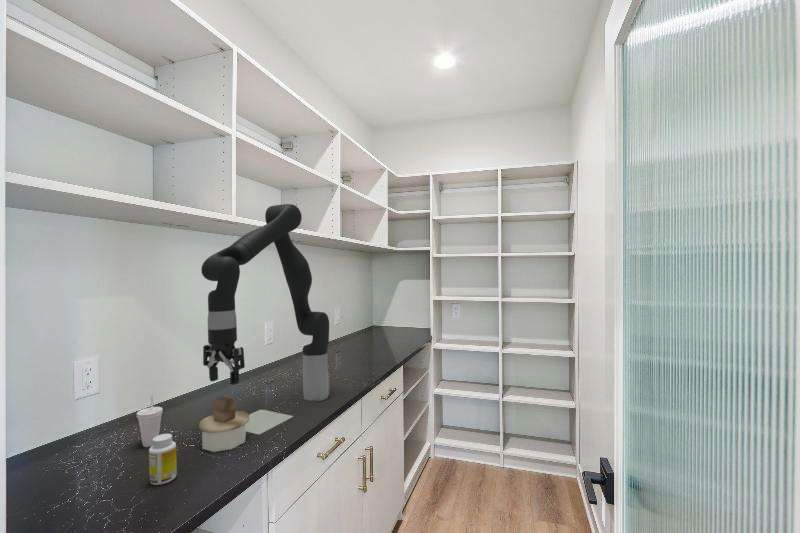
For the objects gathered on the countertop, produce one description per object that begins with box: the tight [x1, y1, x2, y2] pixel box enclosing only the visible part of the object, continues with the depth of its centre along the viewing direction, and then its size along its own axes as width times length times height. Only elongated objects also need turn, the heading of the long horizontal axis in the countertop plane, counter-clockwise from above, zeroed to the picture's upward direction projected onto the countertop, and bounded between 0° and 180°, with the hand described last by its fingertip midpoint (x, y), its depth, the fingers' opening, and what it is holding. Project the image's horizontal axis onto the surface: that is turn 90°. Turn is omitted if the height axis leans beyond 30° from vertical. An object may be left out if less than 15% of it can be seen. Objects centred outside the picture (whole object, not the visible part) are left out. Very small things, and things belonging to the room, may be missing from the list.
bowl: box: [201, 424, 247, 453], centre depth 109 cm, size 11×11×6 cm
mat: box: [246, 409, 294, 436], centre depth 123 cm, size 15×15×1 cm
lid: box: [198, 395, 250, 433], centre depth 109 cm, size 13×13×7 cm
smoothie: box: [136, 394, 164, 448], centre depth 109 cm, size 6×6×14 cm
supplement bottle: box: [148, 433, 178, 486], centre depth 91 cm, size 6×6×10 cm
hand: (224, 382), depth 109 cm, fingers open, 8 cm apart
